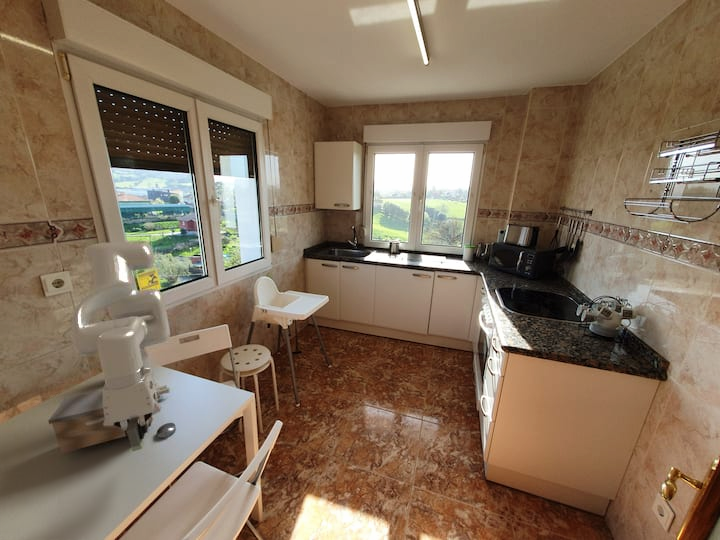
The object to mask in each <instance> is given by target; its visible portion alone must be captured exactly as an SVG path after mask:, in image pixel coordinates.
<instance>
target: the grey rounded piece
mask: <svg viewBox="0 0 720 540" xmlns="http://www.w3.org/2000/svg"><path fill="white" fill-rule="evenodd" d="M176 430H177V428H176V424H175V423H174V422H168V423H165V424H162V425H160V426H159V427H158V429H157V430H156V434H157V439H160V440H163V439H168V438H169V437H171V436H173V435H174V434H175V433H176Z"/></svg>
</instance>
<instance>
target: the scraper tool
mask: <svg viewBox="0 0 720 540" xmlns="http://www.w3.org/2000/svg"><path fill="white" fill-rule="evenodd" d="M148 420H149V419H148ZM148 420H147V424H148ZM138 426H139V419H138V421H137V419H133V420H129V422H128V426H127V429H126V432H127V435H128V437H129V438H128V441H129V440H130V442H129V443H130V445H131V447H130V448H131V450H132V452H136V451H140V450H143V446H144V443H145V437H146V434H145V435H144V438H143V439H140V436H139V431H138Z"/></svg>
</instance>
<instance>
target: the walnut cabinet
mask: <svg viewBox="0 0 720 540" xmlns="http://www.w3.org/2000/svg"><path fill="white" fill-rule="evenodd" d="M133 419H137V421H138V419H139V418H138V417H134V418H130V420H133ZM153 419H154V417H153V415H152V416H151V417H150V418H149V420H148V424H147V427H148V428H149V427H150V426H152V422H153ZM104 420H105V417H104V411H103V389H101V390H99V391H92V392H89V393H84V394H83V393H82V394H78V395H74V396H70V397H69V396H68V397H65V398H64V399H63V401H62V402H61V403H60V405H59V406H58V407H57V408H56V410H54V412H53V413H52V415H51V416H50V418H49V419H48V420H47V421H48V424H49V425H52V427H53V430H54V434H55V436H56V440H57V443H58V446H59V449H60V450H59V451H60V454H65V453H68V452H71V451H76V450H80V449H84V448H87V447H91V446H94V445H97V444H102V443H106V442H109V441H112V440H116V439H120V438H124V437H126V435H125V430H122V428H120V427H117V426H114V425H103V423H104Z"/></svg>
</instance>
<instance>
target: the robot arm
mask: <svg viewBox="0 0 720 540" xmlns="http://www.w3.org/2000/svg"><path fill="white" fill-rule="evenodd" d="M83 255H84V258H85V260H86V262H87V264H89V266H90V267H91V269H92V277H93V278H92V279H93V290H92V291H90V293H88V294H87V295H86V296H85V297H84V298H83V299H82V300H81V301H80V302H79V304H78V305H77V306H76V308H75V310H74V311H73V313H72V314H73V315H72V317H71V325H72V326H71V327H72V328H71V329H72V330H71V332H72V334H71V335H72V343H73V347H74V349H75V351H76V352H77V353H78V354H80V355H93V354H98V357H99V361H100V366H101V370H102V375H103V378H104V379H103V380H104V382H105V383H104V385H103V387H102V390H103V411H104V417H105V420H104V423H103V425H114V426H117V427H120V428H122V430H125V435H126V436H125V438H126V439H128V442H129V443H130V440H129V437H128V435H127V432H126V429H127V426H128V422H129V420H130V418H134V417H138V418H139V426H138V431H139V436H140V439H143V438H144V435H145V436H146V433H148V431H149V429H148V428H149V426H148V427H147V420H148V419H149V418H150V417H151V416H152V417H153V416H154V415H157V414H158V413H160V412H161V411H162V406H161V405H160V403H159V401H160V399H162V395H165V394H169V393H170V391H171V389H170V387H168V385H162V386H159V384H158V382H156V383H155V377H154V372H153V371H154V370H153V365H152V362H151V361H152V360H151V356H150V354H149V352H147V351H146V350H145V349H143V348H146V347H149V346H154V345H157V344H162V343H164V342H166V341H168V340H169V339H170V336H171V330H170V325H169V318H168V313H167V308H166V303H165V298H164V295H163V294H162V292H161V291H160V290H159V289H158V288H157V289H156V288H147V289H140V290H138V289H137V286H136V281H135V277H134V276H133V274H132V271H139V270H149V269H151V268H153V266H154V263H155V255H154V251H153V247H152V246H151V244H150V243H149V242H148V241H146V240H136V241H135V240H134V241H114V242H113V241H111V242H100V243H93V244H91V245H88V246H86V247H85V248H84V253H83ZM104 308H106V309H107V312H108V315H109V317H110V320H105V321H104V320H103V321H99V322H94V323H90V320H91V318H93V316H95V315H96V314H97V313H98V312H100V311H102V310H103V309H104ZM146 316H149V317H152V318H147V319H143V318H142V317H146ZM144 439H145V438H144Z"/></svg>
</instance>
